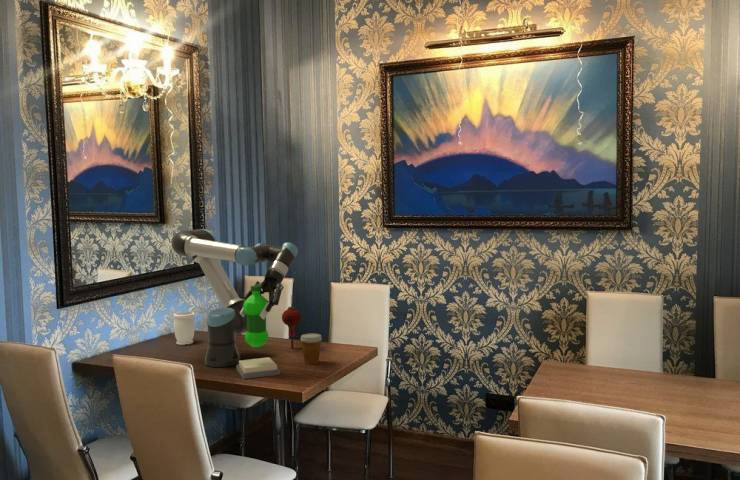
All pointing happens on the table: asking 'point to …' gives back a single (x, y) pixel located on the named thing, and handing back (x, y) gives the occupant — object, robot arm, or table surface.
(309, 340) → the disposable coffee cup
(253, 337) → the plastic bottle
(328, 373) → the table surface
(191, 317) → the jar
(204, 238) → the robot arm
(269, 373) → the stepped plinth
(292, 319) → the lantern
